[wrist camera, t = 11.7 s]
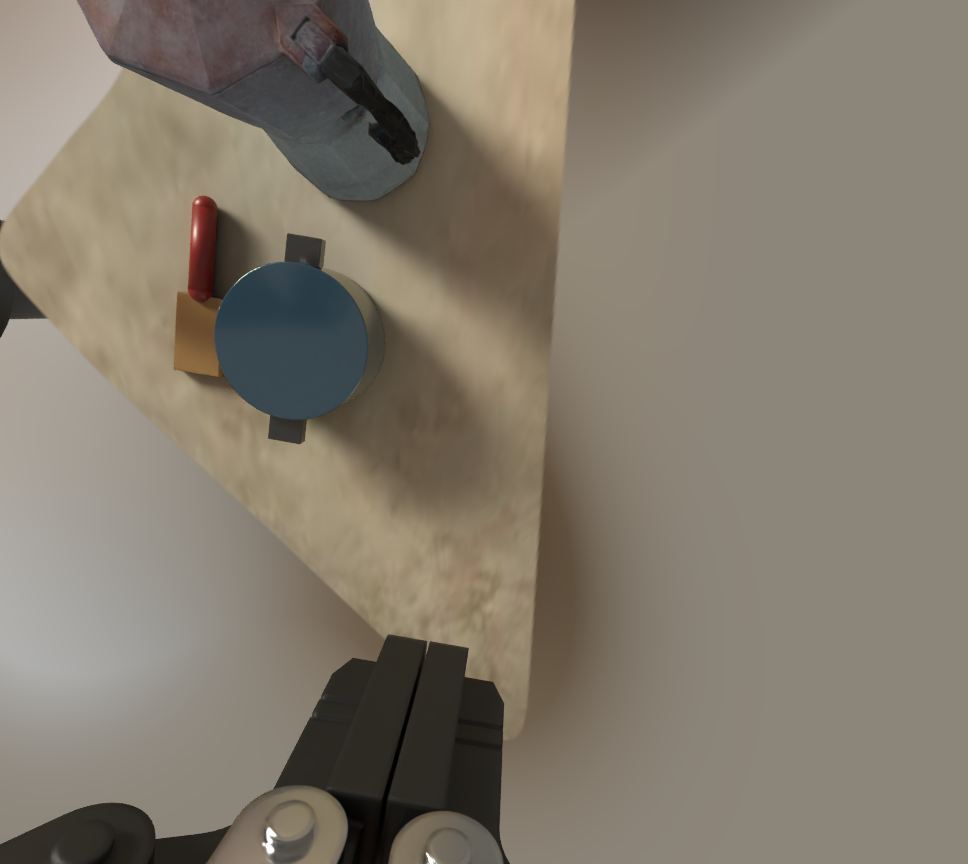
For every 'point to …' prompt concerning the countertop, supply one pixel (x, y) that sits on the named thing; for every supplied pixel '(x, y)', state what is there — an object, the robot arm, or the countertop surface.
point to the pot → (298, 338)
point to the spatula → (199, 297)
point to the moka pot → (284, 79)
